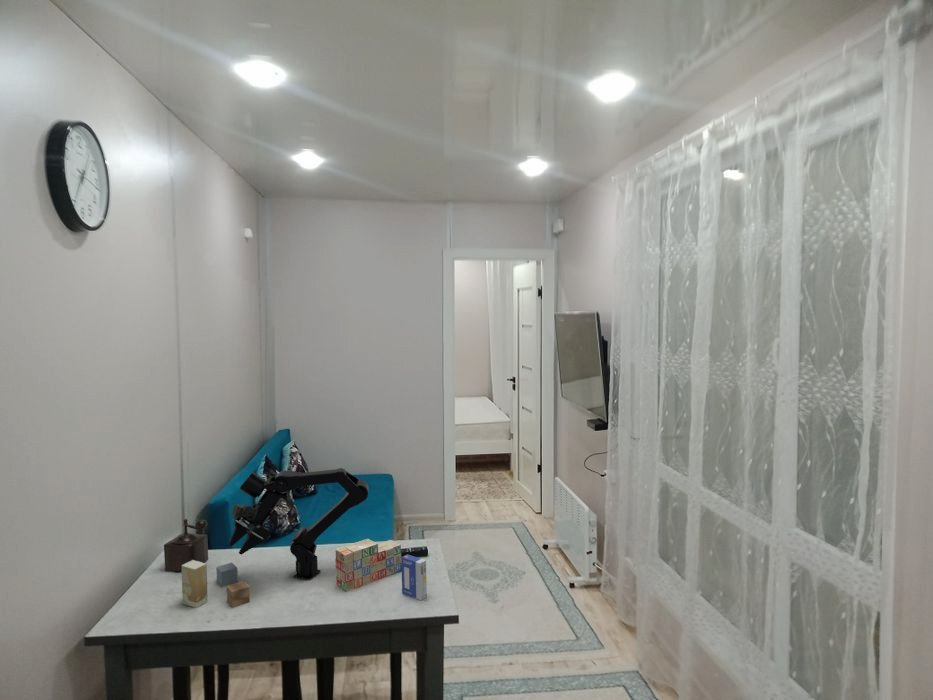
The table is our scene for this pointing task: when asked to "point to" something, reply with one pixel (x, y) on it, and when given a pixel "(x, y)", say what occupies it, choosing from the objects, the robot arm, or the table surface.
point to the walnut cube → (238, 594)
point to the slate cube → (227, 574)
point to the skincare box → (194, 583)
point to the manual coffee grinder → (186, 547)
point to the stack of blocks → (366, 562)
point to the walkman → (414, 577)
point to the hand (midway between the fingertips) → (234, 549)
